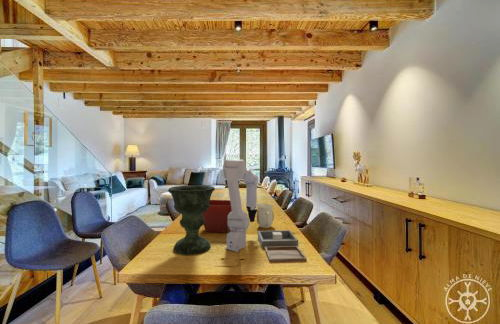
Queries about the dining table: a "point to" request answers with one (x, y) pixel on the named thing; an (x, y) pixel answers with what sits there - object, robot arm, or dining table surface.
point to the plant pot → (217, 216)
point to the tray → (284, 254)
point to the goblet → (191, 216)
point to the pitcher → (265, 215)
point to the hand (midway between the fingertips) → (251, 220)
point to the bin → (287, 240)
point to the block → (276, 236)
